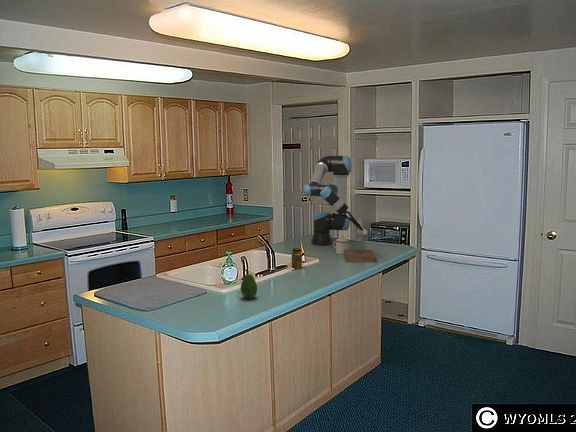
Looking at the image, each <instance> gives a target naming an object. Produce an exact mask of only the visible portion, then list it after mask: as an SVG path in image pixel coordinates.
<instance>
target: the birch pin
mask: <svg viewBox="0 0 576 432" xmlns="http://www.w3.org/2000/svg"><path fill="white" fill-rule="evenodd" d="M356 221H357V222H358V223H359V224H360V225H361V226H362V227H363V225H364V224H363V221H364V220H363V218H357V219H356ZM356 240H358V241H362V240H363V233H362V232H361V231H360V230H359V229H358V228H356Z"/></svg>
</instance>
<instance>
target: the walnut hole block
mask: <svg viewBox="0 0 576 432" xmlns="http://www.w3.org/2000/svg"><path fill="white" fill-rule="evenodd" d="M343 259H344V261H345V263H375V262H376V260H375V259H376V255H375V253H374V252H373V250H372V249H349V250H344V254H343Z"/></svg>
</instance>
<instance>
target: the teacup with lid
mask: <svg viewBox="0 0 576 432" xmlns="http://www.w3.org/2000/svg"><path fill="white" fill-rule="evenodd" d="M349 246H350V239H348V238H346V237H345V236H344V235H341V236H340V237H339V238H336V239H335V241H332V247H333V248H334V249H335V254H336V255H344V250H350V249H349V248H350V247H349Z"/></svg>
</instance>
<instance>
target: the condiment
mask: <svg viewBox="0 0 576 432" xmlns="http://www.w3.org/2000/svg"><path fill="white" fill-rule="evenodd" d="M302 265H303V253H302V248H300V247H293V248H292V253H291V267H292V268H294V269H295V270H291V271H299V270H305V268H303V267H302Z"/></svg>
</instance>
